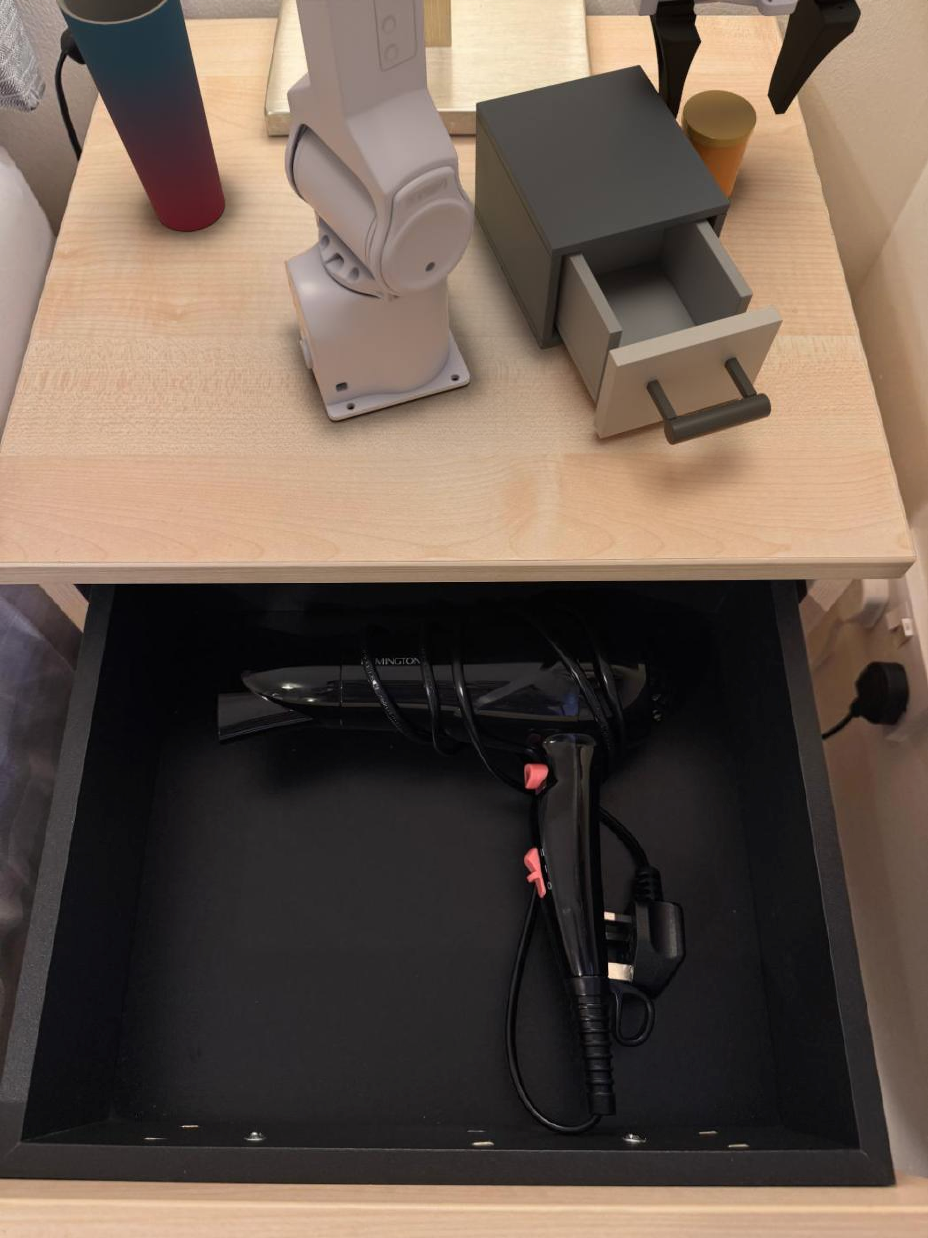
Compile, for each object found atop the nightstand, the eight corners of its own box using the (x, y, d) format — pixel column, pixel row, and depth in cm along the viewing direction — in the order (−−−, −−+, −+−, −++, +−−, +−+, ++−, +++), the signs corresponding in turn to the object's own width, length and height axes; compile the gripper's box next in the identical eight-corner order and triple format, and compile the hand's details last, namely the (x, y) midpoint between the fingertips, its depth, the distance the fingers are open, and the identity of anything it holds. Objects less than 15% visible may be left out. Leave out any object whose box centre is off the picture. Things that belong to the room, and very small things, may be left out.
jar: (683, 214, 63) (702, 145, 58) (655, 168, 65) (670, 98, 60) (746, 198, 64) (769, 129, 59) (716, 153, 66) (736, 82, 61)
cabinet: (697, 306, 60) (731, 202, 52) (541, 349, 58) (552, 249, 51) (619, 175, 65) (640, 63, 57) (474, 211, 64) (475, 101, 56)
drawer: (779, 447, 54) (819, 375, 48) (627, 493, 53) (648, 425, 47) (667, 258, 61) (690, 173, 54) (529, 294, 59) (536, 212, 53)
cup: (220, 246, 62) (151, 30, 48) (129, 232, 63) (35, 15, 49) (249, 180, 65) (191, -43, 51) (161, 167, 65) (81, -57, 52)
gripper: (673, -75, 45) (628, 160, 57) (945, -97, 46) (843, 139, 58) (643, -150, 48) (606, 89, 60) (900, -170, 49) (811, 70, 61)
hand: (721, 109), depth 59 cm, fingers open, 7 cm apart
